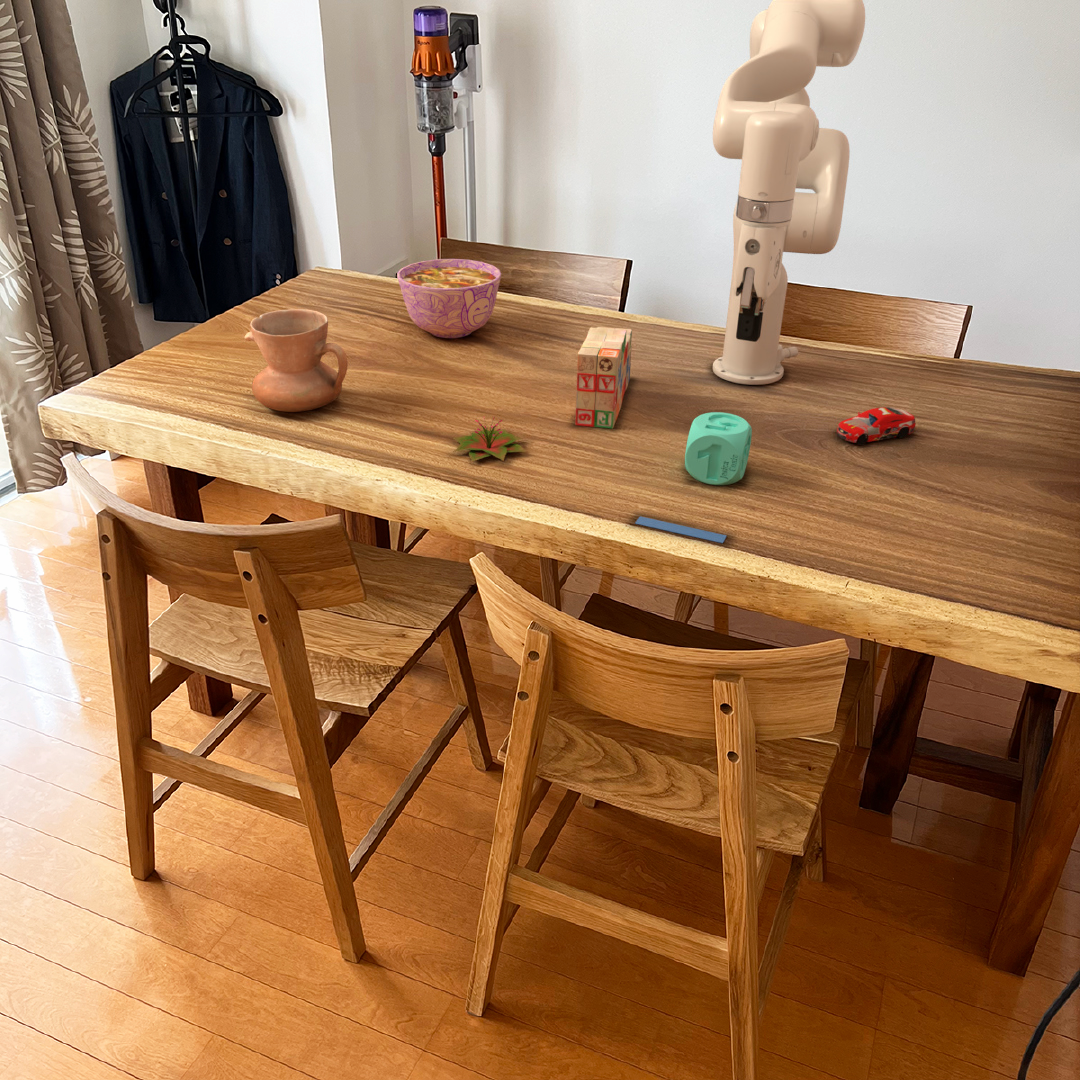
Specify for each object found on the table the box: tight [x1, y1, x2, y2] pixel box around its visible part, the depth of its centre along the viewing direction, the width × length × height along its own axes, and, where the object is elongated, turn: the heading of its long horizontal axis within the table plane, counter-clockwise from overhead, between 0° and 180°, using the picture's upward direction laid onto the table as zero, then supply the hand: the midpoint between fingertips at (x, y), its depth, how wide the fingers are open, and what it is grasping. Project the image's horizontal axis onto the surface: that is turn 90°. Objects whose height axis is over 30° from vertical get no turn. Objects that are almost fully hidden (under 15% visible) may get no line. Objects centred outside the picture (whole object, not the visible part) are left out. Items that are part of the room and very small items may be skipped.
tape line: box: [634, 516, 727, 544], centre depth 130 cm, size 12×2×1 cm, turn 66°
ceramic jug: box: [244, 308, 349, 413], centre depth 160 cm, size 18×14×14 cm
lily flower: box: [451, 415, 528, 463], centre depth 149 cm, size 12×12×5 cm
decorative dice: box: [684, 411, 753, 486], centre depth 142 cm, size 8×8×8 cm
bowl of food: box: [396, 258, 502, 339], centre depth 191 cm, size 20×20×12 cm
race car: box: [836, 406, 916, 446], centre depth 154 cm, size 13×5×4 cm, turn 110°
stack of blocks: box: [574, 326, 633, 429], centre depth 162 cm, size 21×6×12 cm, turn 168°
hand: (747, 338), depth 144 cm, fingers closed
